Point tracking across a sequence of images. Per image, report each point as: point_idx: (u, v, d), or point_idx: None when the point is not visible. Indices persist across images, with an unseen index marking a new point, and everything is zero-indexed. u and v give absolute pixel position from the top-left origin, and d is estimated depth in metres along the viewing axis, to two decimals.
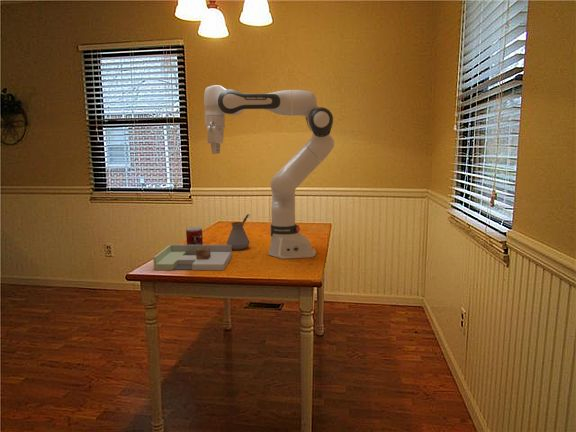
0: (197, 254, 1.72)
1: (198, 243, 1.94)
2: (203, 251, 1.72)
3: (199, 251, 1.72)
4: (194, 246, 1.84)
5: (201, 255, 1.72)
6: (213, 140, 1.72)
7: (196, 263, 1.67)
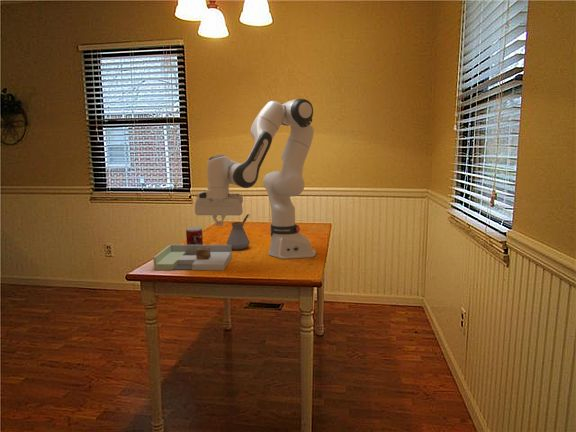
0: (197, 254, 1.72)
1: (198, 243, 1.94)
2: (203, 251, 1.72)
3: (199, 251, 1.72)
4: (194, 246, 1.84)
5: (201, 255, 1.72)
6: (242, 211, 1.72)
7: (196, 263, 1.67)
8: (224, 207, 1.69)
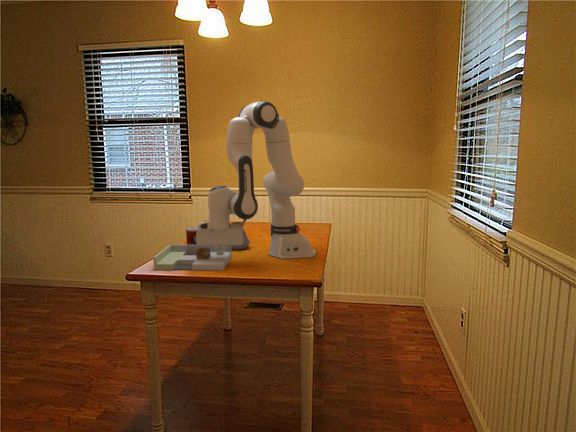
0: (197, 254, 1.72)
1: None
2: (203, 251, 1.72)
3: (199, 251, 1.72)
4: (194, 246, 1.84)
5: (201, 255, 1.72)
6: None
7: (196, 263, 1.67)
8: (225, 237, 1.71)
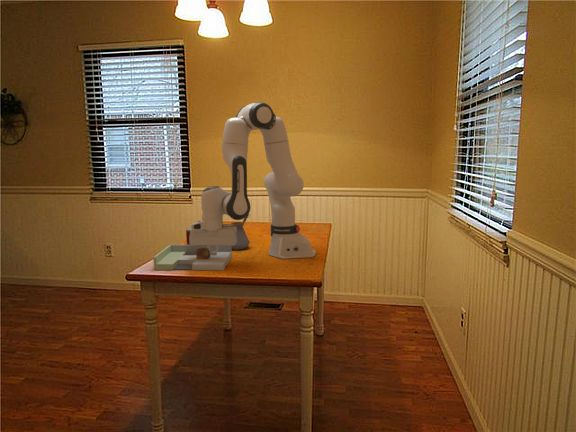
0: (197, 254, 1.72)
1: None
2: (203, 251, 1.72)
3: (199, 251, 1.72)
4: (194, 246, 1.84)
5: (201, 255, 1.72)
6: (236, 241, 1.74)
7: (196, 263, 1.67)
8: (218, 237, 1.71)
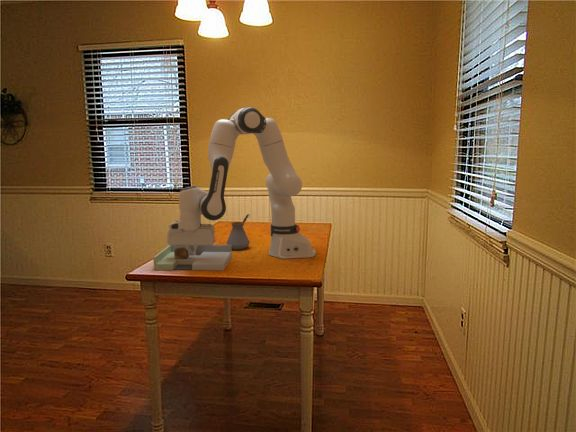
0: (176, 254, 1.72)
1: None
2: (181, 251, 1.72)
3: (177, 251, 1.72)
4: None
5: (179, 255, 1.72)
6: (214, 241, 1.74)
7: (196, 263, 1.67)
8: (196, 237, 1.71)
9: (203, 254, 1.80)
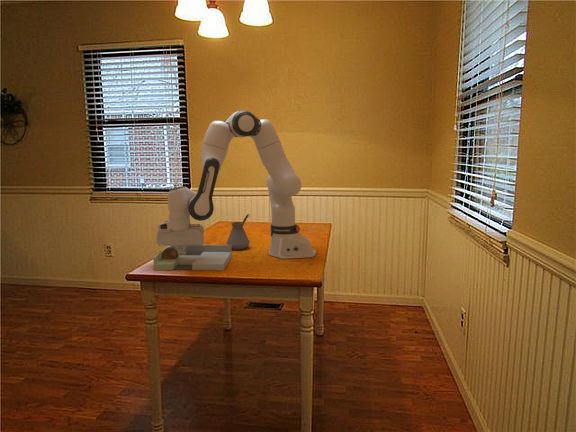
0: (165, 254, 1.72)
1: None
2: (170, 251, 1.72)
3: (166, 251, 1.72)
4: (194, 246, 1.84)
5: (169, 255, 1.73)
6: None
7: (196, 263, 1.67)
8: (185, 237, 1.72)
9: (203, 254, 1.80)
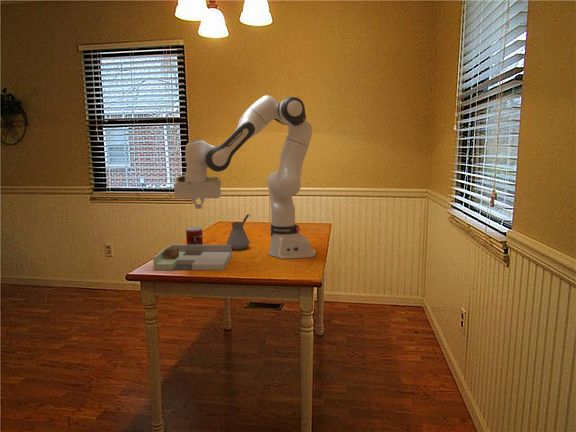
0: (165, 254, 1.72)
1: (198, 243, 1.94)
2: (170, 251, 1.72)
3: (166, 251, 1.72)
4: (194, 246, 1.84)
5: (169, 255, 1.73)
6: (220, 194, 1.78)
7: (196, 263, 1.67)
8: (202, 190, 1.75)
9: (203, 254, 1.80)
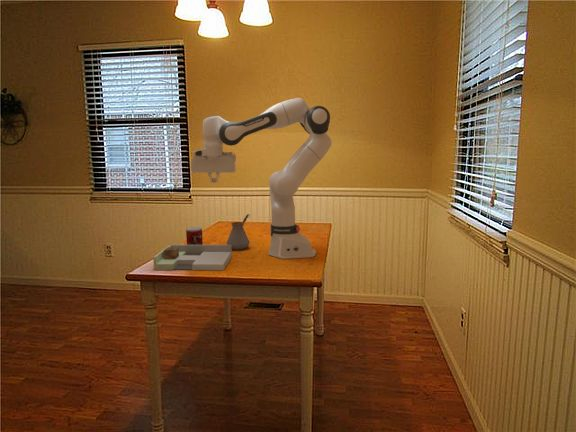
0: (165, 254, 1.72)
1: (198, 243, 1.94)
2: (170, 251, 1.72)
3: (166, 251, 1.72)
4: (194, 246, 1.84)
5: (169, 255, 1.73)
6: (235, 169, 1.85)
7: (196, 263, 1.67)
8: (218, 164, 1.82)
9: (203, 254, 1.80)
